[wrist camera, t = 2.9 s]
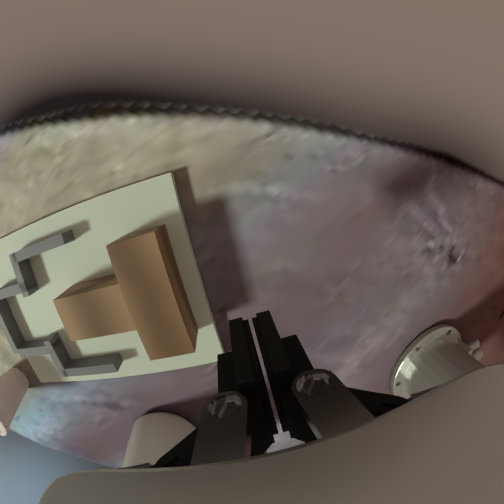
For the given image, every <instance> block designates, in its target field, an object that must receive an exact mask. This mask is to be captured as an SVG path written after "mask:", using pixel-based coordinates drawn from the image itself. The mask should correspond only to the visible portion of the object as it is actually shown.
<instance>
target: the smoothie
mask: <svg viewBox="0 0 504 504" xmlns="http://www.w3.org/2000/svg"><path fill="white" fill-rule="evenodd" d="M28 387H29V381H28V379H27V377H26V376H25V375H24V373H23V372H22V371H20V370H19V369H18V368H15V367H12V368H11V369H9V370H8V371H7V372H6V373H4V374H3V375H2V376H0V435H2V436H6V435H7V434H8V432H9V431H10V427H9V426H10V424H11V422H12V420H13V417H14V415H15V413H16V411H17V409H18V407H19V405H20V403H21V401H22V399H23V397H24V395H25V393H26V391H27V389H28Z"/></svg>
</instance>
